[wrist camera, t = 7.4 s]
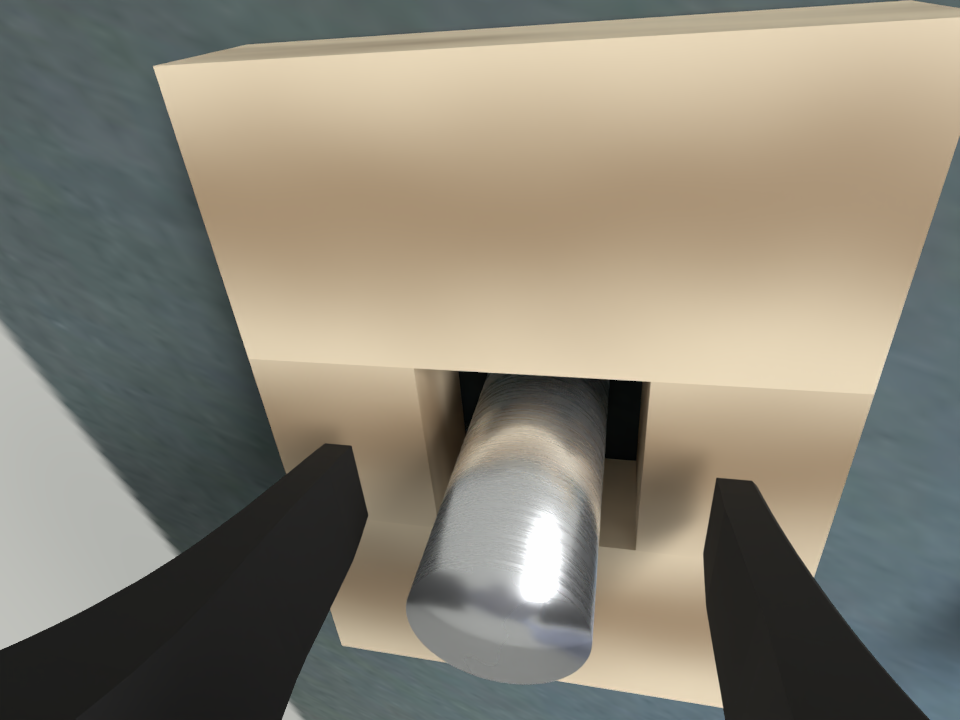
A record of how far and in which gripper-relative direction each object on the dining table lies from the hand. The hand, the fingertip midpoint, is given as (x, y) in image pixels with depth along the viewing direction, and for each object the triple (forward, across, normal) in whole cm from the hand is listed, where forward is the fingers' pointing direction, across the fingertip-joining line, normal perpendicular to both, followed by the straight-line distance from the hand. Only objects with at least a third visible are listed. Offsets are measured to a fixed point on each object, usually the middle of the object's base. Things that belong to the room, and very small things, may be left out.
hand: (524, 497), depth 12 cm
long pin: (+4, 0, 0) cm, 4 cm away
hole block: (+4, 0, 0) cm, 4 cm away
